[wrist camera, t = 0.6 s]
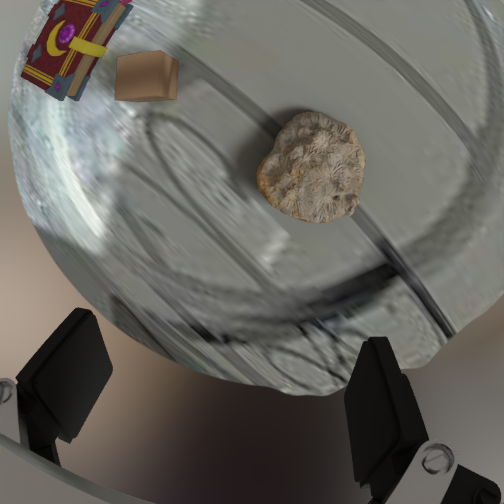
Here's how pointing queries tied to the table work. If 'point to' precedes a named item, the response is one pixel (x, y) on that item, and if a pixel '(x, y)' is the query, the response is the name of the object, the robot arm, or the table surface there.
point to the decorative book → (73, 44)
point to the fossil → (313, 169)
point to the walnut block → (146, 77)
